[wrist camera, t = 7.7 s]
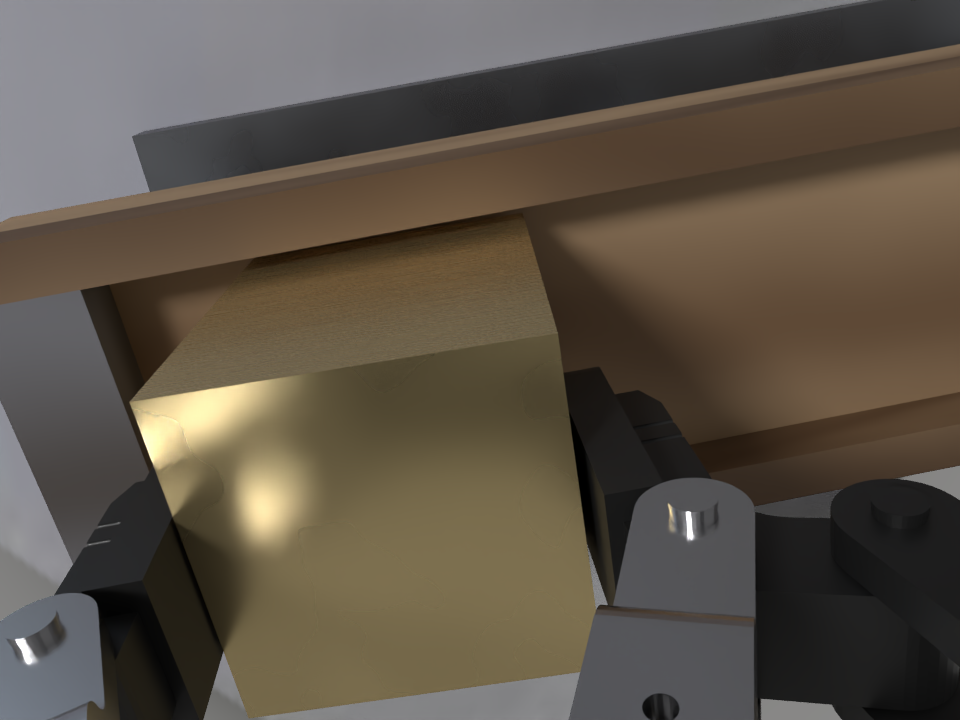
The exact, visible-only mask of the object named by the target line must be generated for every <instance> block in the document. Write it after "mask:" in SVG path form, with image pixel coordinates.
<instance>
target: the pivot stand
mask: <svg viewBox="0 0 960 720" xmlns="http://www.w3.org/2000/svg"><path fill="white" fill-rule="evenodd" d="M958 44H960V0H868V1H863V2H857V3H852V4H846V5H841V6H835V7H829V8H824V9H818V10H813V11H807V12H802V13H796V14H791V15H785V16H780V17H774V18H769V19H763V20H758V21H752V22H747V23H741V24H736V25H730V26H724V27H719V28H713V29H708V30H702V31H697V32H691V33H686V34H680V35H675V36H669V37H664V38H658V39H653V40H647V41H642V42H636V43H631V44H625V45H619V46H614V47H608V48H603V49H597V50H592V51H586V52H581V53H575V54H570V55H564V56H559V57H553V58H548V59H542V60H537V61H531V62H525V63H520V64H514V65H509V66H503V67H498V68H492V69H487V70H481V71H476V72H470V73H465V74H459V75H454V76H448V77H443V78H437V79H432V80H426V81H420V82H415V83H409V84H404V85H398V86H393V87H387V88H382V89H376V90H371V91H365V92H360V93H354V94H349V95H343V96H338V97H332V98H326V99H321V100H315V101H310V102H304V103H299V104H293V105H288V106H282V107H277V108H271V109H266V110H260V111H255V112H249V113H244V114H238V115H233V116H227V117H221V118H216V119H210V120H205V121H199V122H194V123H188V124H183V125H177V126H172V127H166V128H161V129H155V130H150V131H144V132H141V133H139V134H137V135H134V136H132V138H133V141H134V144H135V147H136V150H137V153H138V156H139V159H140V162H141V165H142V168H143V172H144V175H145V178H146V181H147V184H148V187H149V190H150V192H153V191H159V190H164V189H169V188H175V187H180V186H186V185H191V184H197V183H202V182H208V181H213V180H219V179H224V178H230V177H235V176H241V175H246V174H252V173H257V172H263V171H268V170H274V169H279V168H284V167H290V166H295V165H301V164H306V163H312V162H317V161H323V160H328V159H334V158H339V157H345V156H350V155H356V154H361V153H367V152H372V151H378V150H383V149H388V148H394V147H399V146H405V145H410V144H416V143H421V142H427V141H432V140H438V139H443V138H449V137H454V136H460V135H465V134H471V133H476V132H482V131H487V130H493V129H498V128H503V127H509V126H514V125H520V124H525V123H531V122H536V121H542V120H547V119H553V118H558V117H564V116H569V115H575V114H580V113H586V112H591V111H597V110H602V109H607V108H613V107H618V106H624V105H629V104H635V103H640V102H646V101H651V100H657V99H662V98H668V97H673V96H679V95H684V94H690V93H695V92H701V91H706V90H712V89H717V88H722V87H728V86H733V85H739V84H744V83H750V82H755V81H761V80H766V79H772V78H777V77H783V76H788V75H794V74H799V73H805V72H810V71H816V70H821V69H826V68H832V67H837V66H843V65H848V64H854V63H859V62H865V61H870V60H876V59H881V58H887V57H892V56H898V55H903V54H909V53H914V52H920V51H925V50H931V49H936V48H941V47H947V46H952V45H958Z"/></svg>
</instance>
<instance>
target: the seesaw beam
mask: <svg viewBox="0 0 960 720" xmlns="http://www.w3.org/2000/svg"><path fill="white" fill-rule="evenodd" d="M518 213H523V216H524V219H525V223H526V226H527V229H528V233H529V236H530V240H531V243H532V247H533V250H534V253H535V257H536V260H537V264H538V267H539V270H540V274H541V277H542V281H543V284H544V288H545V291H546V294H547V298H548V301H549V305H550V308H551V311H552V315H553V318H554V322H555V325H556V328H557V332H558V338H559V345H560V352H561V359H562V367H563V373H565V372H571V371H576V370H582V369H587V368H592V367H598V366H599V367H600V368H601V370H602V372H603V374H604V376H605V377H606V379H607V381H608V383H609V385H610V386H611V388H612V390H613V392H614V394H619V393H625V392H630V391H635V390H639V391H641V392H643V393H645V394H647V395H649V396H651V397H652V398H654V399H656V400H658V401H660V402H661V403H662V404H663V406H664V407H665V409H666V410H667V412H668V413H669V415H670V416H671V418H672V419H673V423H675V424H676V425H677V427H678V428H679V430H680V431H681V433H682V437H685V439H686V440H687V442H688V443H689V445H690V446H691V448H692V449H693V451H694V452H695V454H696V455H697V457H698V458H699V460H700V461H701V463H702V464H703V466H704V467H705V469H706V471H707V472H708V474H709V475H710V477H711V478H712V479H713V480H718V481H722V482H725V483H728V484H730V485H733V486H735V487H736V488H738V489H740V490H741V491H743V492H744V493H745V494H746V495H747V496H748V497H749V498H750V499H751V501H752V503H753V505H754V506H758V505H763V504H768V503H773V502H778V501H783V500H788V499H793V498H798V497H803V496H808V495H814V494H819V493H824V492H829V491H834V490H839V489H844V488H846V487H848V486H851V485H853V484H855V483H859V482H863V481H868V480H874V479H894V478H899V477H904V476H909V475H914V474H919V473H924V472H929V471H934V470H940V469H944V468H950V467H955V466H960V44H958V45H952V46H947V47H941V48H936V49H931V50H925V51H920V52H914V53H909V54H903V55H898V56H892V57H887V58H881V59H876V60H870V61H865V62H859V63H854V64H848V65H843V66H837V67H832V68H826V69H821V70H816V71H810V72H805V73H799V74H794V75H788V76H783V77H777V78H772V79H766V80H761V81H755V82H750V83H744V84H739V85H733V86H728V87H722V88H717V89H712V90H706V91H701V92H695V93H690V94H684V95H679V96H673V97H668V98H662V99H657V100H651V101H646V102H640V103H635V104H629V105H624V106H618V107H613V108H607V109H602V110H597V111H591V112H586V113H580V114H575V115H569V116H564V117H558V118H553V119H547V120H542V121H536V122H531V123H525V124H520V125H514V126H509V127H503V128H498V129H493V130H487V131H482V132H476V133H471V134H465V135H460V136H454V137H449V138H443V139H438V140H432V141H427V142H421V143H416V144H410V145H405V146H399V147H394V148H388V149H383V150H378V151H372V152H367V153H361V154H356V155H350V156H345V157H339V158H334V159H328V160H323V161H317V162H312V163H306V164H301V165H295V166H290V167H284V168H279V169H274V170H268V171H263V172H257V173H252V174H246V175H241V176H235V177H230V178H224V179H219V180H213V181H208V182H202V183H197V184H191V185H186V186H180V187H175V188H169V189H164V190H159V191H153V192H148V193H142V194H137V195H131V196H126V197H120V198H115V199H109V200H104V201H98V202H93V203H87V204H82V205H76V206H71V207H65V208H60V209H55V210H49V211H44V212H38V213H33V214H27V215H22V216H16V217H11V218H9V219H7V220H5V221H3V222H1V223H0V401H1V403H2V405H3V407H4V410H5V412H6V414H7V416H8V419H9V421H10V423H11V425H12V428H13V430H14V432H15V434H16V437H17V439H18V441H19V443H20V446H21V448H22V450H23V452H24V455H25V457H26V459H27V461H28V463H29V466H30V468H31V470H32V472H33V475H34V477H35V479H36V481H37V484H38V486H39V488H40V490H41V493H42V495H43V497H44V499H45V502H46V504H47V506H48V508H49V511H50V513H51V515H52V517H53V520H54V522H55V524H56V526H57V529H58V531H59V533H60V535H61V538H62V540H63V542H64V544H65V547H66V549H67V551H68V553H69V556H70V558H71V560H72V562H73V564H74V562H75V561H76V559H77V558H78V556H79V554H80V553H81V551H82V549H83V548H84V547H87V541H88V540H89V538H90V536H91V535H92V533H93V532H94V530H95V529H98V523H99V522H100V520H101V519H102V517H103V515H104V514H105V512H106V510H107V509H108V507H109V506H110V504H111V503H112V502H113V501H114V500H116V499H117V498H118V497H119V496H120V495H121V494H123V493H124V492H125V491H126V490H127V489H128V488H130V487H131V486H132V485H133V484H134V483H136V482H140V481H145V479H146V477H147V476H148V474H149V472H150V470H151V469H152V467H153V463H152V461H151V458H150V455H149V453H148V450H147V447H146V445H145V442H144V439H143V437H142V434H141V432H140V429H139V426H138V424H137V421H136V418H135V416H134V413H133V410H132V408H131V405H130V401H131V400H132V398H133V397H134V396H135V395H136V394H137V393H138V392H139V390H140V389H141V388H142V387H143V386H144V385H145V383H146V382H147V381H148V380H149V379H150V378H151V376H152V375H153V374H154V373H155V372H156V371H157V370H158V368H159V367H160V366H161V365H162V364H163V363H164V361H165V360H166V359H167V358H168V357H169V356H170V355H171V353H172V352H173V351H174V350H175V349H176V348H177V346H178V345H179V344H180V343H181V342H182V341H183V340H184V338H185V337H186V336H187V335H188V334H189V333H190V331H191V330H192V329H193V328H194V327H195V326H196V324H197V323H198V322H199V321H200V320H201V319H202V318H203V316H204V315H205V314H206V313H207V312H208V311H209V309H210V308H211V307H212V306H213V305H214V304H215V303H216V301H217V300H218V299H219V298H220V297H221V296H222V294H223V293H224V292H225V291H226V290H227V289H228V288H229V286H230V285H231V284H232V283H233V282H234V281H235V279H236V278H237V277H238V276H239V275H240V274H241V272H242V271H243V270H244V269H245V268H246V267H247V266H248V264H249V263H250V262H251V261H252V260H253V259H254V258H257V257H263V256H269V255H275V254H281V253H287V252H293V251H299V250H304V249H310V248H316V247H322V246H328V245H334V244H340V243H346V242H352V241H358V240H364V239H370V238H376V237H382V236H388V235H394V234H399V233H405V232H411V231H417V230H423V229H429V228H435V227H441V226H447V225H453V224H459V223H465V222H471V221H477V220H483V219H489V218H495V217H500V216H506V215H512V214H518Z"/></svg>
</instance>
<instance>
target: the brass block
mask: <svg viewBox="0 0 960 720" xmlns="http://www.w3.org/2000/svg"><path fill="white" fill-rule="evenodd" d="M130 405H131V408H132V410H133V413H134V416H135V418H136V421H137V424H138V426H139V429H140V432H141V434H142V437H143V439H144V442H145V445H146V447H147V450H148V453H149V455H150V458H151V461H152V463H153V466H154V469H155V471H156V474H157V477H158V479H159V482H160V484H161V487H162V490H163V492H164V495H165V498H166V500H167V503H168V506H169V508H170V511H171V514H172V516H173V519H174V522H175V524H176V527H177V529H178V532H179V535H180V537H181V540H182V543H183V545H184V548H185V551H186V553H187V556H188V559H189V561H190V564H191V566H192V569H193V572H194V574H195V577H196V580H197V582H198V585H199V588H200V590H201V593H202V596H203V598H204V601H205V604H206V606H207V609H208V611H209V614H210V617H211V619H212V622H213V625H214V627H215V630H216V633H217V635H218V638H219V641H220V643H221V646H222V648H223V651H224V654H225V656H226V659H227V662H228V664H229V667H230V670H231V672H232V675H233V678H234V680H235V683H236V686H237V688H238V691H239V693H240V696H241V699H242V701H243V704H244V707H245V709H246V712H247V715H248V717H249V718H254V717H262V716H269V715H276V714H283V713H290V712H297V711H304V710H312V709H319V708H326V707H333V706H340V705H347V704H355V703H362V702H369V701H376V700H383V699H390V698H397V697H405V696H412V695H419V694H426V693H433V692H440V691H448V690H455V689H462V688H469V687H476V686H483V685H491V684H498V683H505V682H512V681H519V680H526V679H533V678H541V677H548V676H555V675H562V674H569V673H576V672H580V671H581V667H582V663H583V659H584V655H585V651H586V646H587V642H588V638H589V634H590V630H591V626H592V622H593V618H594V614H595V612H596V607H595V600H594V593H593V585H592V578H591V571H590V563H589V556H588V549H587V542H586V534H585V527H584V520H583V512H582V505H581V498H580V491H579V483H578V476H577V469H576V461H575V454H574V447H573V440H572V432H571V425H570V418H569V410H568V403H567V396H566V389H565V381H564V374H563V367H562V359H561V352H560V345H559V338H558V332H557V328H556V325H555V322H554V318H553V315H552V311H551V308H550V305H549V301H548V298H547V294H546V291H545V288H544V284H543V281H542V277H541V274H540V270H539V267H538V264H537V260H536V257H535V253H534V250H533V247H532V243H531V240H530V236H529V233H528V229H527V226H526V223H525V219H524V216H523V213H518V214H512V215H506V216H500V217H495V218H489V219H483V220H477V221H471V222H465V223H459V224H453V225H447V226H441V227H435V228H429V229H423V230H417V231H411V232H405V233H399V234H394V235H388V236H382V237H376V238H370V239H364V240H358V241H352V242H346V243H340V244H334V245H328V246H322V247H316V248H310V249H304V250H299V251H293V252H287V253H281V254H275V255H269V256H263V257H257V258H254V259H253V260H252V261H251V262H250V263H249V264H248V266H247V267H246V268H245V269H244V270H243V271H242V272H241V274H240V275H239V276H238V277H237V278H236V279H235V281H234V282H233V283H232V284H231V285H230V286H229V288H228V289H227V290H226V291H225V292H224V293H223V294H222V296H221V297H220V298H219V299H218V300H217V301H216V303H215V304H214V305H213V306H212V307H211V308H210V309H209V311H208V312H207V313H206V314H205V315H204V316H203V318H202V319H201V320H200V321H199V322H198V323H197V324H196V326H195V327H194V328H193V329H192V330H191V331H190V333H189V334H188V335H187V336H186V337H185V338H184V340H183V341H182V342H181V343H180V344H179V345H178V346H177V348H176V349H175V350H174V351H173V352H172V353H171V355H170V356H169V357H168V358H167V359H166V360H165V361H164V363H163V364H162V365H161V366H160V367H159V368H158V370H157V371H156V372H155V373H154V374H153V375H152V376H151V378H150V379H149V380H148V381H147V382H146V383H145V385H144V386H143V387H142V388H141V389H140V390H139V392H138V393H137V394H136V395H135V396H134V397H133V398H132V400H131V401H130Z"/></svg>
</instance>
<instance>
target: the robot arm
mask: <svg viewBox="0 0 960 720" xmlns="http://www.w3.org/2000/svg"><path fill="white" fill-rule="evenodd" d="M563 374H564V381H565V389H566V396H567V403H568V410H569V418H570V425H571V432H572V440H573V447H574V454H575V461H576V469H577V476H578V483H579V491H580V498H581V505H582V512H583V520H584V527H585V534H586V542H587V545H588V548H589V550H590V553H591V556H592V559H593V562H594V565H595V568H596V571H597V574H598V577H599V580H600V583H601V586H602V589H603V592H604V594H605V597H606V600H607V603H608V605H599V606H598V608H597V609H596V612H595V614H594V618H593V622H592V626H591V630H590V634H589V638H588V642H587V646H586V651H585V655H584V659H583V663H582V667H581V671H580V675H579V679H578V684H577V688H576V692H575V696H574V700H573V704H572V708H571V712H570V717H569V720H761V699H773V700H784V701H796V702H809V703H820V704H832V705H833V707H834V709H835V711H836V713H837V714H838V715H839V716H840V718H841V719H842V720H960V500H958V499H957V498H955V497H953V496H952V495H950V494H948V493H946V492H944V491H942V490H940V489H937V488H935V487H933V486H929V485H926V484H923V483H918V482H914V481H908V480H900V479H874V480H868V481H863V482H859V483H855V484H853V485H851V486H848V487H846V488H845V489H843V490H841V491H840V492H839V493H838V494H837V495H836V496H835V497H834V499H833V501H832V504H831V518H790V517H777V516H770V515H765V514H761V513H757V512H755V509H754V505H753V503H752V501H751V499H750V498H749V497H748V496H747V495H746V494H745V493H744V492H743V491H741V490H740V489H738V488H736V487H735V486H733V485H730V484H728V483H725V482H722V481H718V480H713V479H712V478H711V477H710V475H709V474H708V472H707V471H706V469H705V467H704V466H703V464H702V463H701V461H700V460H699V458H698V457H697V455H696V454H695V452H694V451H693V449H692V448H691V446H690V445H689V443H688V442H687V440H686V439H685V437H682V433H681V431H680V430H679V428H678V427H677V425H676V424H675V423H673V419H672V418H671V416H670V415H669V413H668V412H667V410H666V409H665V407H664V406H663V404H662V403H661V402H660V401H658V400H656V399H654V398H652V397H651V396H649V395H647V394H645V393H643V392H641V391H639V390H635V391H630V392H625V393H619V394H614V392H613V390H612V388H611V386H610V385H609V383H608V381H607V379H606V377H605V376H604V374H603V372H602V370H601V368H600V367H599V366H598V367H592V368H587V369H582V370H576V371H571V372H565V373H563ZM222 654H223V648H222V646H221V643H220V641H219V638H218V635H217V633H216V630H215V627H214V625H213V622H212V619H211V617H210V614H209V611H208V609H207V606H206V604H205V601H204V598H203V596H202V593H201V590H200V588H199V585H198V582H197V580H196V577H195V574H194V572H193V569H192V566H191V564H190V561H189V559H188V556H187V553H186V551H185V548H184V545H183V543H182V540H181V537H180V535H179V532H178V529H177V527H176V524H175V522H174V519H173V516H172V514H171V511H170V508H169V506H168V503H167V500H166V498H165V495H164V492H163V490H162V487H161V484H160V482H159V479H158V477H157V474H156V471H155V469H154V466H153V467H152V469H151V470H150V472H149V474H148V476H147V477H146V479H145V481H140V482H136V483H134V484H133V485H132V486H131V487H130V488H128V489H127V490H126V491H125V492H124V493H123V494H121V495H120V496H119V497H118V498H117V499H116V500H114V501H113V502H112V503H111V504H110V506H109V507H108V509H107V510H106V512H105V514H104V515H103V517H102V519H101V520H100V522H99V523H98V529H95V530H94V532H93V533H92V535H91V536H90V538H89V540H88V541H87V547H84V548H83V549H82V551H81V553H80V554H79V556H78V558H77V559H76V561H75V562H74V564H73V566H72V567H71V569H70V571H69V572H68V574H67V575H66V577H65V579H64V580H63V582H62V583H61V585H60V587H59V588H58V590H57V592H56V593H55V595H54V596H50V597H47V598H44V599H41V600H38V601H36V602H33V603H31V604H29V605H26V606H25V607H22V608H21V609H19V610H17V611H15V612H14V613H12V614H10V615H9V616H7V617H5V618H4V619H3V620H2V621H0V720H203V718H204V715H205V712H206V708H207V705H208V702H209V698H210V695H211V691H212V688H213V685H214V681H215V678H216V674H217V671H218V667H219V664H220V661H221V657H222Z"/></svg>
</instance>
